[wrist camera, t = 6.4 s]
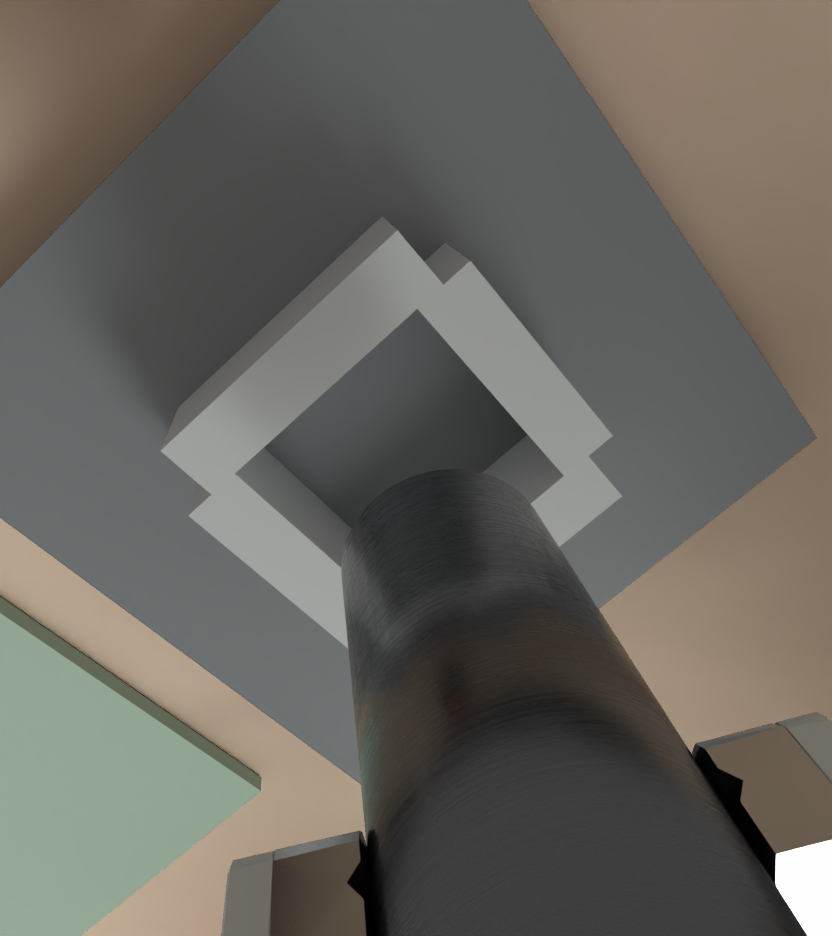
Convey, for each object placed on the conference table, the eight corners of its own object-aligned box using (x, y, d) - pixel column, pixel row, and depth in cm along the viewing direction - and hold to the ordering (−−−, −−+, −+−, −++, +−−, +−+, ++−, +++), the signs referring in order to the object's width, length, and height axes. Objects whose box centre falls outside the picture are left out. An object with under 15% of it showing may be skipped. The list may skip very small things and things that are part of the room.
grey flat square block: (787, 420, 24) (887, 478, 20) (364, 756, 27) (376, 866, 23) (416, -128, 17) (454, -211, 13) (-102, 401, 20) (-203, 469, 16)
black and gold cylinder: (546, 428, 14) (1178, 1157, 4) (574, 633, 16) (1050, 1486, 6) (297, 486, 14) (290, 1420, 4) (354, 687, 16) (453, 1671, 6)
